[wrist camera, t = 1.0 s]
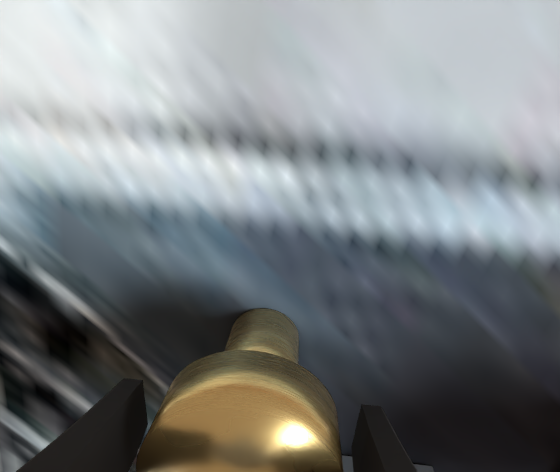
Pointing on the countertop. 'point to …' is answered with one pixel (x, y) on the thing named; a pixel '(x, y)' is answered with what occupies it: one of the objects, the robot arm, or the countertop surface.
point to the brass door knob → (246, 408)
